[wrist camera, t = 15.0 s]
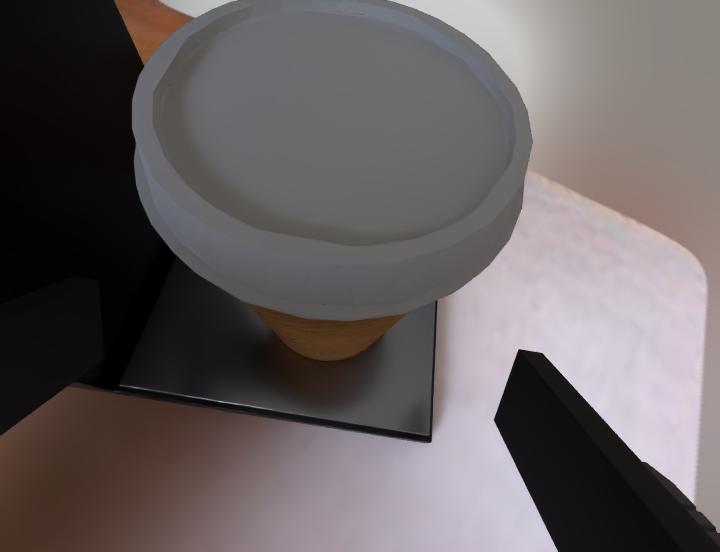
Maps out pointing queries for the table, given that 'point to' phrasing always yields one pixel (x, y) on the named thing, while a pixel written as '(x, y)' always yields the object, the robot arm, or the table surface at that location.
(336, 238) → the disposable coffee cup
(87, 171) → the tower
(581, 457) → the robot arm
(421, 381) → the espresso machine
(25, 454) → the table surface
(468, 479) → the table surface
